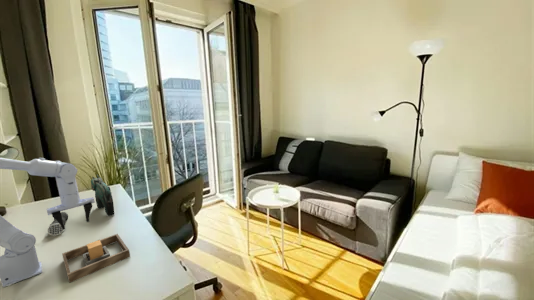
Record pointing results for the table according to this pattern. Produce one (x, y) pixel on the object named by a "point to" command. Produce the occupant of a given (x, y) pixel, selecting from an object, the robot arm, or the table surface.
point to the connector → (95, 249)
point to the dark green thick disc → (102, 195)
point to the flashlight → (57, 225)
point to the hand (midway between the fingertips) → (76, 224)
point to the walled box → (97, 262)
